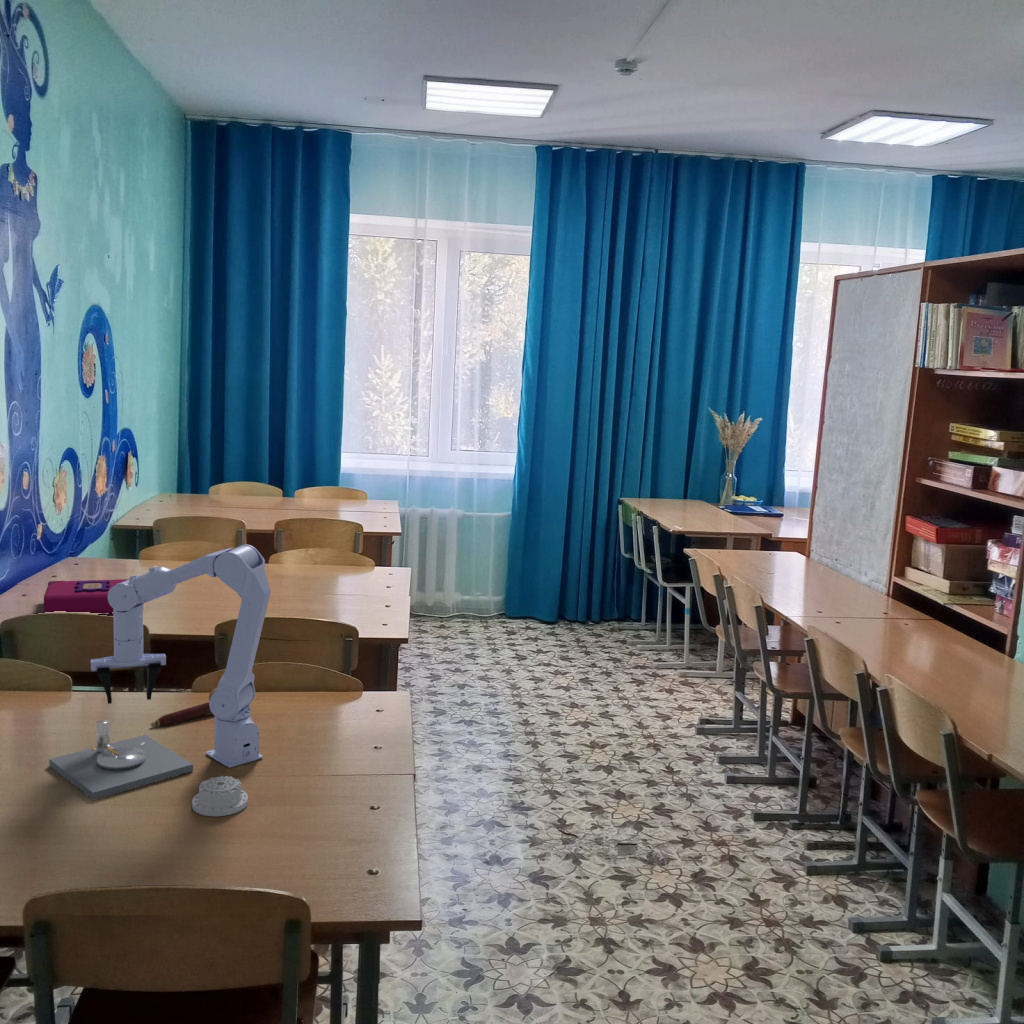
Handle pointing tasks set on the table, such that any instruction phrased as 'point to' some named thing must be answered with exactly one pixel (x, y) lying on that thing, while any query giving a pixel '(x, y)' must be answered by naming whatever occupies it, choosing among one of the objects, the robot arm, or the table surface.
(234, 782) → the mechanical component
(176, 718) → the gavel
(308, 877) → the table surface
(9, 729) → the table surface
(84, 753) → the dial plate
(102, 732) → the dial
